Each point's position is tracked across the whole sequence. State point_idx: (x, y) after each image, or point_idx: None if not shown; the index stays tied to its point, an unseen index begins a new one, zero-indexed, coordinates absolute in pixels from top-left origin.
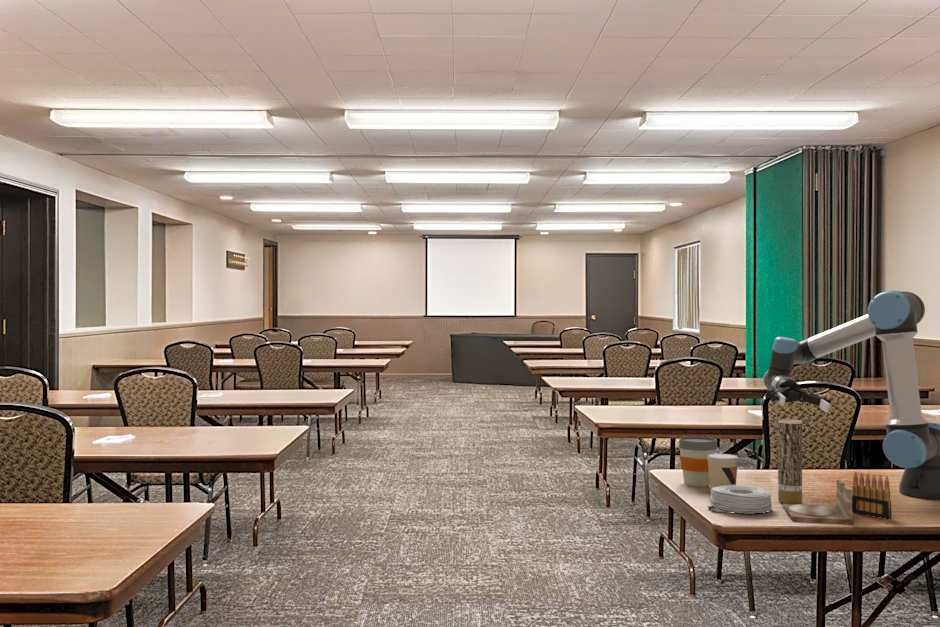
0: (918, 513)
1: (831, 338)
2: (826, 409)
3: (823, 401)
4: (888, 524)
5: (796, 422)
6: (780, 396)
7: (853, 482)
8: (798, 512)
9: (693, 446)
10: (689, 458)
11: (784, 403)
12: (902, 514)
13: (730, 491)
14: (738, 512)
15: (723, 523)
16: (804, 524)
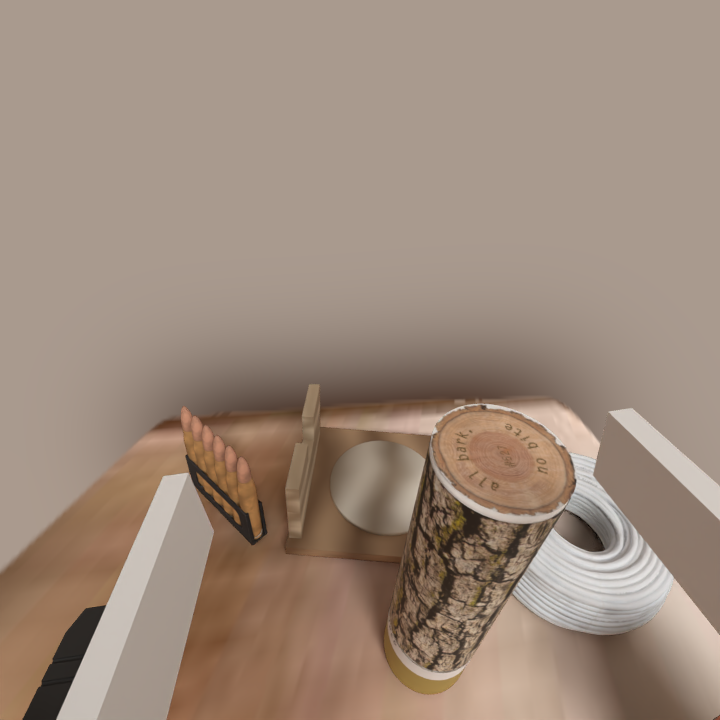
0: (67, 547)
1: None
2: (202, 521)
3: (139, 614)
4: (234, 438)
5: (463, 409)
6: (701, 488)
7: (252, 479)
8: (419, 455)
9: None
10: None
11: (598, 457)
12: (128, 529)
13: (614, 540)
14: None
15: (560, 417)
16: (410, 424)
